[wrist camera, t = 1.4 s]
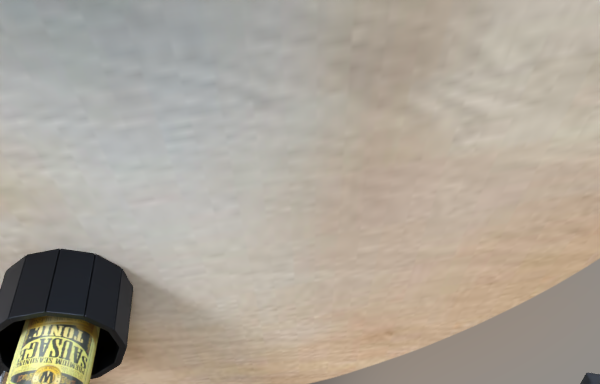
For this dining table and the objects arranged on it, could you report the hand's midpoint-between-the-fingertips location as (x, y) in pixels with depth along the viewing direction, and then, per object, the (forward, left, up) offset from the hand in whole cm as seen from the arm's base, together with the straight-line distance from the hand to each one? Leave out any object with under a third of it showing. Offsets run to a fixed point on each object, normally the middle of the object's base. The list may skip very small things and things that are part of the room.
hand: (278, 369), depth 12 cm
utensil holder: (-4, -35, -27) cm, 45 cm away
